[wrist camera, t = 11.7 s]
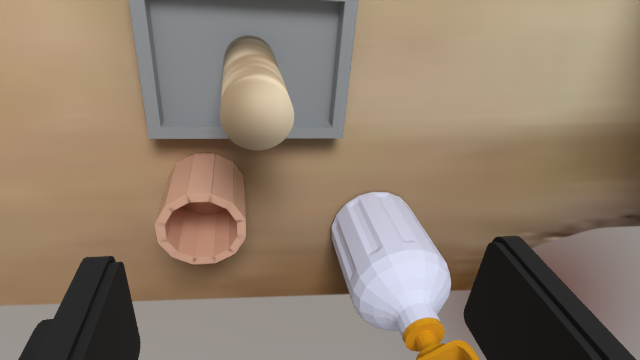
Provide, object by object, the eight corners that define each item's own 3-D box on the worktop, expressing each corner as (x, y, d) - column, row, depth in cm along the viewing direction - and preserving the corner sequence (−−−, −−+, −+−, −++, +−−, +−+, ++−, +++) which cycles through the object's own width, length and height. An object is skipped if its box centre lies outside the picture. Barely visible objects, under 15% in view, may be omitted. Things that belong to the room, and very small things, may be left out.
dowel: (275, 36, 31) (296, 82, 21) (274, 86, 33) (292, 150, 23) (222, 34, 31) (218, 80, 21) (224, 85, 33) (221, 150, 22)
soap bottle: (314, 220, 42) (391, 487, 22) (388, 174, 41) (546, 411, 20) (354, 268, 47) (449, 527, 26) (422, 228, 46) (579, 467, 25)
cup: (243, 152, 37) (245, 192, 31) (244, 214, 40) (246, 261, 34) (164, 153, 36) (150, 195, 30) (172, 217, 39) (161, 266, 33)
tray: (351, -16, 31) (359, -13, 29) (336, 127, 37) (342, 138, 35) (132, -32, 28) (124, -30, 26) (154, 126, 34) (148, 139, 32)
